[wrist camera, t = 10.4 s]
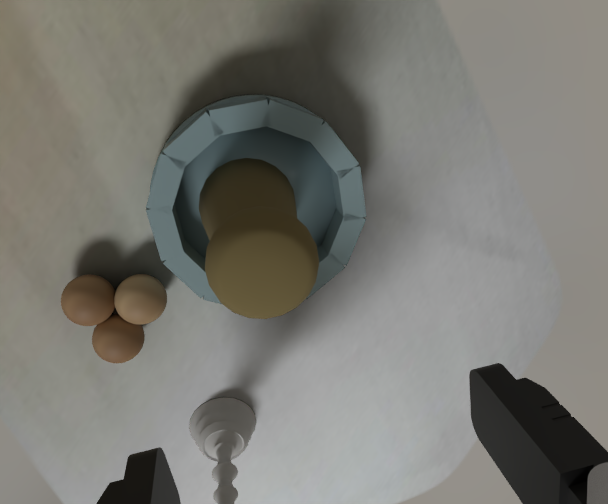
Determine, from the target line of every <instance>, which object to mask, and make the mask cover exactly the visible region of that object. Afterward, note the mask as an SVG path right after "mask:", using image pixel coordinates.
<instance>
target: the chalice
mask: <svg viewBox="0 0 608 504" xmlns="http://www.w3.org/2000/svg"><path fill="white" fill-rule="evenodd" d="M255 425H256V419H255V414H254V412H253V411H252V409H251V408H250V406H248V405H247V404H245V403H244V402H243V401H240V400H237V399H234V398H223V397H222V398H217V399H212V400H210V401H208V402H206V403H204V404H202V405H201V406H200V407H199V408H198V409H197V410H196V411H195V412H194V414H193V415H192V417H191V419H190V426H189V429H190V433H191V436H192V438H193V439H194V440H195V442H196V444H197V446H198V447H199V450H200V451H201V452H202V454H203V455H204V456H206V457H208V458H209V459H211V460H214V461H218V464H217V466H216V467H215V468H214V469H213V471H212V477H213V479H214V480H215V481H216V482H218V484H219V485H218V488H217V490H216V491H215V492H214V495H213V497H214V500H215V502H216V503H218V504H234V501H235V500H236V499H237V497H238V492H237V490H236V488H234V487H233V485H232V481H233V480H234V479H235V478H236V476H237V473H238V471H237V468H236V466H235V465H233V464H232V463H231V460H232V459H234V458H236V457H238V456H239V455H240V454H241V453H242V452H243V451H244V450H245V449H246V447H247V445H248V442H249V440H250V439H251V435H252V434H253V432H254V430H255Z"/></svg>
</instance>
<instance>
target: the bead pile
mask: <svg viewBox="0 0 608 504" xmlns="http://www.w3.org/2000/svg"><path fill="white" fill-rule="evenodd" d="M166 303H167V294H166V291H165V288H164V286H163V285H162V283H161V282H160V281H159V280H158V279H156V278H155V277H152V276H150V275H146V274H136V275H133V276H130V277H128V278H126V279H125V280H124V281H123V282H121V284H120V285H119V286H118V288H117V290H116V292H115V290H114V288H113V286H112V285H111V284H110V283H109V282H108V281H107V280H106V279H104V278H102V277H100V276H97V275H82V276H79V277H77V278H75V279H73V280H72V281H71V282H69V283H68V285H67V286H66V287H65V289H64V291H63V293H62V297H61V306H62V309H63V312H64V313H65V315H66V316H67V317H68V318H69V319H70V320H71V321H72V322H74V323H76V324H79V325H83V326H93V325H97V326H96V327H95V329H94V332H93V336H92V344H93V347H94V350H95V352H96V353H97V354H98V356H99V357H101V358H102V359H103V360H105V361H108V362H111V363H123V362H126V361H129V360H131V359H132V358H134V357H135V356H136V355H137V354H138V353H139V352H140V350H141V349H142V346H143V343H144V330H143V328H142V326H141V325H142V324H147V323H150V322H153V321H154V320H156V319H157V318H158V317H159V316H160V315H161V314H162V313H163V311H164V309H165V307H166ZM115 308H116V310H117V312H118V313H117V314H112V313H113V311H114V309H115ZM111 314H112V315H111Z"/></svg>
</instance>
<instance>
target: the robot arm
mask: <svg viewBox="0 0 608 504" xmlns="http://www.w3.org/2000/svg"><path fill="white" fill-rule="evenodd" d="M470 400H471V418H472V423H473V426H474V429H475V432H476V434H477V436H478V438H479V440H480V441H481V443H482V444H483V446H484V447H485V449H486V450H487V452H488V453H489V455H490V456H491V457H492V459H493V461H495V463H496V465H497V466H498V468H499V469H500V471H501V472H502V474H503V475H504V477H505V478H506V480H507V481H508V482H509V484H510V485H511V487H512V488H513V490H514V491H515V493H516V494H517V495H518V497H519V499H520V500H521V502H522V503H523V504H608V452H607V451H606V450H605V449H604V448H603V447H602V446H601V445H600V444H599V443H598V442H597V441H596V440H595V439H594V437H592V436H591V434H590V433H589V432H588V431H587V430H586V429H585V428H583V426H582V425H581V424H580V423H579V422H578V421H577V420H576V419H575V418H574V417H571V414H570V413H569V412H568V411H567V410H566V409H565V408H564V407H563V406H562V405H560V404H559V402H558V401H557V400H556V399H555V398H554V397H553V396H552V394H550V392H549V391H547V389H545V388H544V387H542V386H540V385H538V384H537V383H535V382H533V381H531V380H529V379H527V378H522V379H518V380H516V379H515V378H514V377H513V376H512V375H511V374H510V372H509V371H508V370H507V369H506V368H505V367H504V366H503V365H502V364H500V363H497V364H493V365H489V366H485V367H481V368H477V369H473V370H471V371H470ZM97 504H181V503H180V498H179V494H178V490H177V487H176V485H175V482H174V479H173V476H172V474H171V471H170V468H169V465H168V462H167V460H166V457H165V454H164V452H163V450H162V448H156V449H152V450H148V451H144V452H140V453H136V454H132V455H130V456H129V457H128V460H127V465H126V470H125V476H124V479H123V480H119V481H115V482H111V483H110V484H109V485H108V487H107V488H106V490H105V491H104V493H103V494H102V496H101V497H100V499H99V500H98V502H97Z"/></svg>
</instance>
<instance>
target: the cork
mask: <svg viewBox="0 0 608 504" xmlns="http://www.w3.org/2000/svg"><path fill="white" fill-rule="evenodd" d="M199 212H200V216H201V220H202V224H203V226H204V228H205V231H206V233H207V236H208V238H209V240H210V242H209V244H208V246H207V250H206V260H205V272H206V276H207V280H208V283H209V286H210V287H211V289H212V290H213V292H214V293H215V295H216V296H217V298H218V299H219V301H220V302H221V303H222V304H223V305H224V306H226V307H227V308H228V309H230V310H231V311H232V312H234V313H237V314H239V315H242V316H245V317H248V318H258V319H268V318H272V317H277V316H281V315H283V314H285V313H287V312H289V311H291V310H293V309H295V308H296V307H298V306H299V305H300V304H301V303H302V302H303V301H304V300H305V299H306V298H307V297H308V296H309V294H310V292H311V290H312V288H313V286H314V284H315V283H316V279H317V273H318V267H319V257H318V251H317V245H316V243H315V241H314V240H313V238H312V236H311V234H310V232H309V230H308V229H307V227H306V226H305V225H304V224H303V223H302V222H300V221H299V220H298V219H297V211H296V202H295V196H294V190H293V188H292V186H291V184H290V182H289V180H288V179H287V177H286V176H285V175H284V174H283V173H282V172H281V171H280V170H279V169H278V168H277V167H276V166H274V165H272V164H270V163H268V162H266V161H263V160H260V159H252V158H242V159H237V160H231V161H229V162H227V163H225V164H223V165H222V166H220V167H218V168H216V169H215V171H214V172H213V173H212V174H211V175H210V176H209V177H208V178H207V179H206V181H205V183H204V185H203V188H202V190H201V192H200V198H199Z"/></svg>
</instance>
